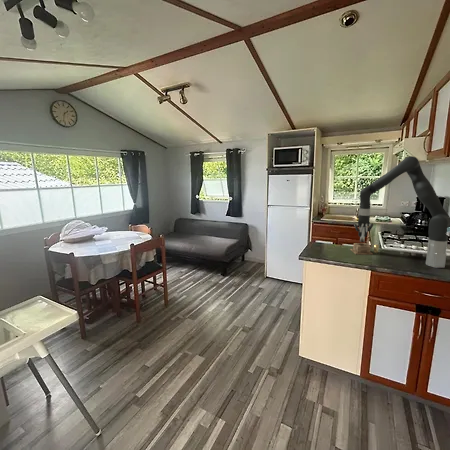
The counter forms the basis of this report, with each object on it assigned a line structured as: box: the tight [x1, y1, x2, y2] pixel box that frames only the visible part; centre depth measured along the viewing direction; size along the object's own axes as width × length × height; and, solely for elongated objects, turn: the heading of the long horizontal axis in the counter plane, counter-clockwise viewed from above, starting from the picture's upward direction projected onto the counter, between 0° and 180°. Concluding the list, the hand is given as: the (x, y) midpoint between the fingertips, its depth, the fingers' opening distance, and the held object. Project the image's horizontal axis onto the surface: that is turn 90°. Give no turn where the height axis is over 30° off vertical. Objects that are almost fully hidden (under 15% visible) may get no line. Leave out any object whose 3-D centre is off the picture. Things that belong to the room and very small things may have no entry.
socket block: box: [350, 242, 374, 256], centre depth 195 cm, size 12×12×6 cm
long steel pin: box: [359, 227, 366, 243], centre depth 193 cm, size 3×3×12 cm
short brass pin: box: [373, 243, 380, 254], centre depth 193 cm, size 3×3×6 cm
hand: (362, 236), depth 193 cm, fingers closed on long steel pin, 3 cm apart
